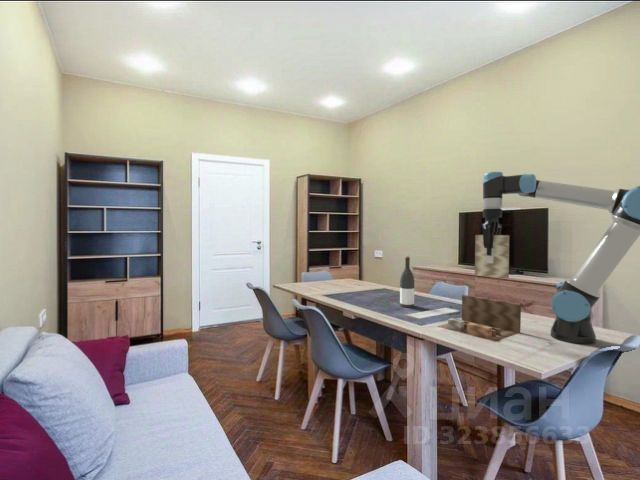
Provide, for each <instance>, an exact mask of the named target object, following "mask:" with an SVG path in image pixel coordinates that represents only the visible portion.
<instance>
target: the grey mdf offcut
mask: <svg viewBox="0 0 640 480" xmlns="http://www.w3.org/2000/svg"><path fill="white" fill-rule="evenodd" d="M447 324H448V328H449V329H453V330H457V331H464V321H462V319H460V320H458V318H453V317H451V318H448V319H447Z"/></svg>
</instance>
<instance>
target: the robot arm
mask: <svg viewBox="0 0 640 480" xmlns="http://www.w3.org/2000/svg"><path fill="white" fill-rule="evenodd" d="M482 191H483V192H482V208H483V210H482V218H483V219H485V221H484V223H481V228H482V235H483V244H484V248H487V263H494V248H493V235H502V228H503V224H501V223H500V220H499V219H500V218H502V217H503V209H502V208H503V195H512V194H513V195H514V194H516V195H519V196H520V197H523V198H524V197H525V198H527V197H528V198H534V199H539V200H540V199H542V200H547V201H553V202H559V203H565V204H570V205H576V206H581V207H588V208H595V209H600V210H604V211H605V210H607V211H608V212H609V214H611V219H612V223H610V225H609V227H608V228H607V230H606V231H605V232H604V233H603V235H602V237H601V238H600V239H599V240H598V242H597V244H596V245H595V247H593V249H592V250H591V252H590V254H589V255H588V256H587V258H586V259H585V261H584V262H583V263H582V265H581V266H580V267H579V268H578V270H577V271H576V273H575V274H574V275H573V277H570V278H567V279H566V280H565V281H559V282H557V283H556V287H555V289H556V293H555V294H554V295H553V296H552V298H551V301H550V302H551V303H550V304H551V305H550V306H551V309H552V312H553V313H554V314H555V319H554V321H553V324H552V326H551V329H550V336H551V337H552V338H554V339H557V340H559V341H562V342H569V343H573V344H582V345H583V344H584V345H590V344H596V342H597V336H596V333H595V330H594V327H593V325H592V320H591V319H592V308H593V307H594V306H595V304H596V303H597V302H598V300H599V299H600V298H601V294H600V289H601V288H602V287H603V285H604V284H605V283H606V281H607V280H608V278H609V277H610V276H611V274H612V273H613V272H614V271H615V269H616V268H617V266H618V265H619V264H620V262H621V261H622V260H623V258H624V257H625V256H626V255H627V253H628V252H629V251H630V249H631V247H632V246H633V245H634V244H635V242H636V241H637V240H638V238H639V237H640V185H638V186H635V187H632V188H631V189H625V188H624V189H622V188H617V189H615V190H613V189H605V188H595V187H590V186H589V187H588V186H582V185H574V184H567V183H560V182H553V181H548V180H547V181H546V180H539V179H537V178H536V175H535V174H534V173H531V174H529V173H523V174H517V175H516V174H515V175H504V174H503V172H501V171H490V172H485V173H484V175H483V180H482Z"/></svg>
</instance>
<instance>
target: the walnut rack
mask: <svg viewBox="0 0 640 480" xmlns="http://www.w3.org/2000/svg"><path fill="white" fill-rule="evenodd" d="M521 312H522V304H521V303H518V302H517V303H515V302H510V301H503V300H498V299H493V298H492V299H491V298H486V297H479V296H473V295H466V294H462V295H461V318H460V319H458V318H457V319H458V320H462V321H464V331H457V330H453V329H449V328H448V323H445V324H442V325H437V328H442V329H445V330H449V331H453V332H456V333H460V334H464V335H467V336H472V337H476V338H479V339H482V340H486V341H491V342H494V343H496V342H499V341H501V340H504V339H507V338H510V337H513V336H515V335H518V334H520V333H521V326H522V325H521V317H522V316H521V315H522V313H521ZM468 323H475V324H479V325H483V326H488V327H492V338H489V339H487V338H483V337H480V336H476V335H472V334H468V333H467V324H468Z"/></svg>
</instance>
